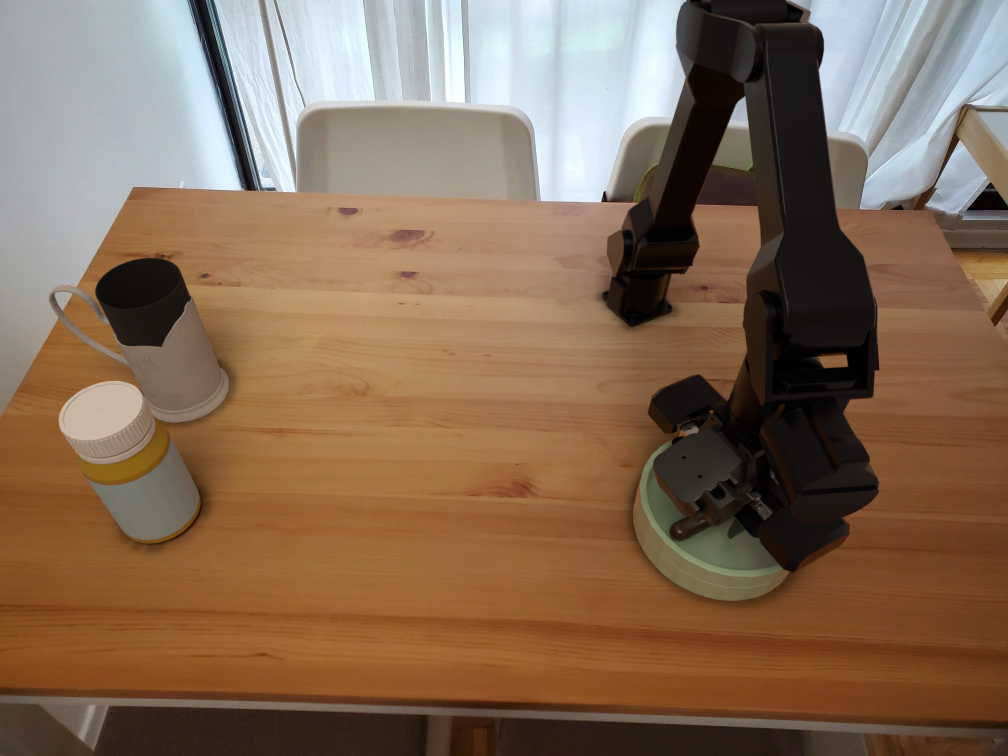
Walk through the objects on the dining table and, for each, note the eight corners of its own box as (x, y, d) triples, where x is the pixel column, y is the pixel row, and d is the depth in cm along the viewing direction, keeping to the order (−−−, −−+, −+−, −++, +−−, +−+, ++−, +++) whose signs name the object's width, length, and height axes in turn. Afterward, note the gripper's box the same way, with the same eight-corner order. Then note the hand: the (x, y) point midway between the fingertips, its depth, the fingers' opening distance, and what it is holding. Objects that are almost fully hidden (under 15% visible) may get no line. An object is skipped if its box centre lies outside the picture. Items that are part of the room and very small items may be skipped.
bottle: (134, 484, 69) (68, 378, 58) (209, 480, 70) (158, 374, 59) (113, 549, 64) (38, 447, 53) (194, 544, 65) (136, 442, 54)
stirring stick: (746, 496, 70) (746, 481, 69) (760, 505, 68) (760, 490, 67) (665, 538, 66) (664, 523, 66) (678, 548, 65) (677, 532, 64)
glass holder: (212, 426, 74) (165, 318, 63) (78, 414, 75) (9, 306, 64) (240, 365, 80) (202, 256, 69) (116, 355, 81) (59, 246, 70)
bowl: (722, 438, 75) (734, 410, 71) (832, 555, 66) (850, 529, 63) (601, 496, 70) (607, 468, 66) (702, 631, 61) (715, 607, 57)
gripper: (611, 365, 58) (589, 476, 69) (772, 548, 47) (714, 645, 59) (718, 322, 62) (680, 435, 73) (890, 482, 51) (814, 585, 62)
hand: (716, 517), depth 67 cm, fingers open, 4 cm apart
